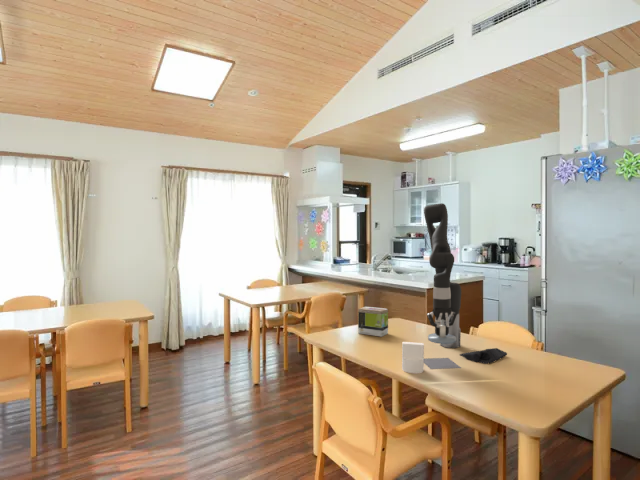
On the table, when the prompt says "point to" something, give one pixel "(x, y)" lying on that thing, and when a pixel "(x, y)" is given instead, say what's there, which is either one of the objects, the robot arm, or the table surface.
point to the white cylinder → (412, 357)
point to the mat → (440, 363)
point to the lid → (442, 337)
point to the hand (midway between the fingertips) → (441, 334)
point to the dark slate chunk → (484, 355)
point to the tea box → (373, 321)
